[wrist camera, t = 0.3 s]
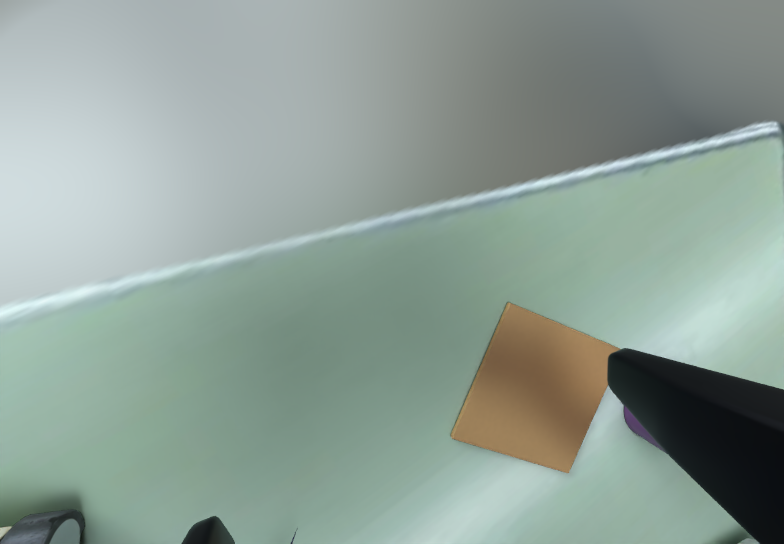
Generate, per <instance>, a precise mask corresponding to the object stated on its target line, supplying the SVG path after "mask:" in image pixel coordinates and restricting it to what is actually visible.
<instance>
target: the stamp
mask: <svg viewBox="0 0 784 544" xmlns="http://www.w3.org/2000/svg"><path fill="white" fill-rule="evenodd" d="M737 544H759V543H758V542H757V541H756V540H753V539H749V538H746V539H745V540H743V541H741V542H739V543H737Z"/></svg>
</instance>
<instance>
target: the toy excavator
mask: <svg viewBox="0 0 784 544" xmlns="http://www.w3.org/2000/svg"><path fill="white" fill-rule="evenodd" d="M84 527H85V525H84V519H83V518H82V517H81V513H80V512H79V511H77V510H73V509H72V510H63V511H54V512H47V513H40V514H30V515H28V516H26V517H24V518H23V519H21V520H20V521H18V522H17V523H15V524H14V525H13V526H10V527H1V528H0V544H80V535H81V533H82V531H83V529H84Z"/></svg>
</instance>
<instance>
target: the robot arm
mask: <svg viewBox="0 0 784 544" xmlns="http://www.w3.org/2000/svg"><path fill="white" fill-rule="evenodd" d="M607 382H608V385H609V387H610V389H611V390H612V392H613V393H614V394H615V395H616V396H617V397H618V399H619V400H620V401H621V402H622V403H623V404H624V405H625V407H626V408H627V409H628V410H629V411H630V412H631V414H632V415H633V416H634V417H635V418H636V419H637V421H638V422H639V423H640V424H641V425H642V426H643V427H644V429H645V430H646V431H647V432H648V433H649V434H650V436H651V437H652V438H653V439H654V440H655V441H656V442H657V443H658V444H659V446H660V447H661V448H662V449H663V450H664V451H665V452H666V453H667V454H668V455H669V456H670V457H671V458H672V459H673V460H674V461H675V462H676V463H677V464H678V465H679V466H680V467H681V468H682V469H684V470H685V471H686V472H687V473H688V474H689V475H690V476H691V477H692V478H693V479H694V480H695V481H696V482H697V483H698V484H699V485H700V486H701V487H702V488H703V489H704V490H705V491H706V492H707V493H708V494H709V495H710V496H711V497H712V498H713V499H714V500H715V501H716V502H717V503H718V504H719V505H720V506H721V507H723V508H724V509H725V510H726V511H727V512H728V513H729V514H730V515H731V516H732V517H733V518H734V519H735V520H736V521H737V522H738V523H739V524H740V525H741V526H742V527H743V528H744V529H745V530H746V531H747V532H748V533H749V534H750V535H751V536H752V537H753V538H754V539H755V540H756V541H757V542H758V543H759V544H784V390H783V389H779V388H775V387H772V386H768V385H764V384H760V383H757V382H753V381H749V380H745V379H742V378H738V377H734V376H730V375H726V374H723V373H719V372H715V371H711V370H708V369H704V368H700V367H696V366H693V365H689V364H685V363H681V362H678V361H674V360H670V359H666V358H662V357H659V356H655V355H651V354H647V353H644V352H640V351H636V350H632V349H628V348H624V349H620V350H618V351H616V352H613V353H611V354H610V355H609V356H608V367H607ZM182 544H235V542H234V540H233V538H232V536H231V535H230V533H229V532H228V530H227V529H226V527H225V526H224V524H223V523H222V522H221V520H220V519H219V518H218V517H216V516H212V517H210V518H207V519H205V520H202V521H200V522H198V523H196V524H194V525H193V526H192V528H191V529H190V530H189V532H188V534H187V535H186V537H185V539H184V540H183V542H182Z"/></svg>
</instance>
